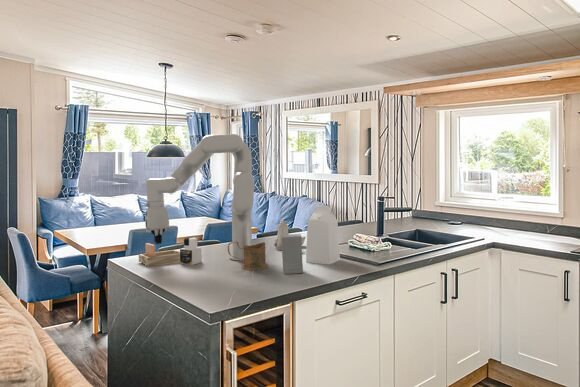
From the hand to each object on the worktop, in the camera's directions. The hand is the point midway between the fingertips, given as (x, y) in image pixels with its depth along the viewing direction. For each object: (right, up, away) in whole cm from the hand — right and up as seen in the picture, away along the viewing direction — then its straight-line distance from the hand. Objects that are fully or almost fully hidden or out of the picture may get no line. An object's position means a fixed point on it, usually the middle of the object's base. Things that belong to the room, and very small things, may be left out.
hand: (158, 243), depth 211 cm
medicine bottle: (+16, -9, -2) cm, 18 cm away
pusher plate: (-3, -8, -2) cm, 9 cm away
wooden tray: (+1, -9, +2) cm, 9 cm away
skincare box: (+63, -10, -25) cm, 69 cm away
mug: (+44, -9, -14) cm, 47 cm away
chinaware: (+61, -7, +33) cm, 70 cm away
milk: (+78, -8, -2) cm, 78 cm away
